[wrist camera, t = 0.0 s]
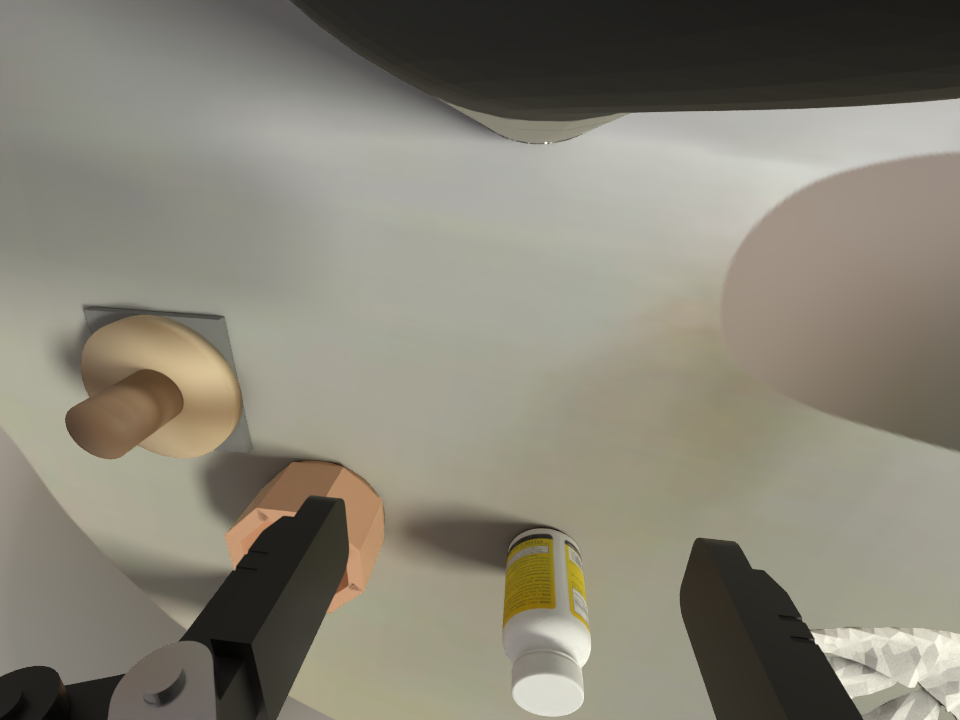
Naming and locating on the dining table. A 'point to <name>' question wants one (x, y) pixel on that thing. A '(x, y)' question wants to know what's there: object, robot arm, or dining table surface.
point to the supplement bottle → (546, 622)
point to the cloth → (897, 668)
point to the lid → (154, 391)
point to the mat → (205, 326)
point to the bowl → (288, 498)
